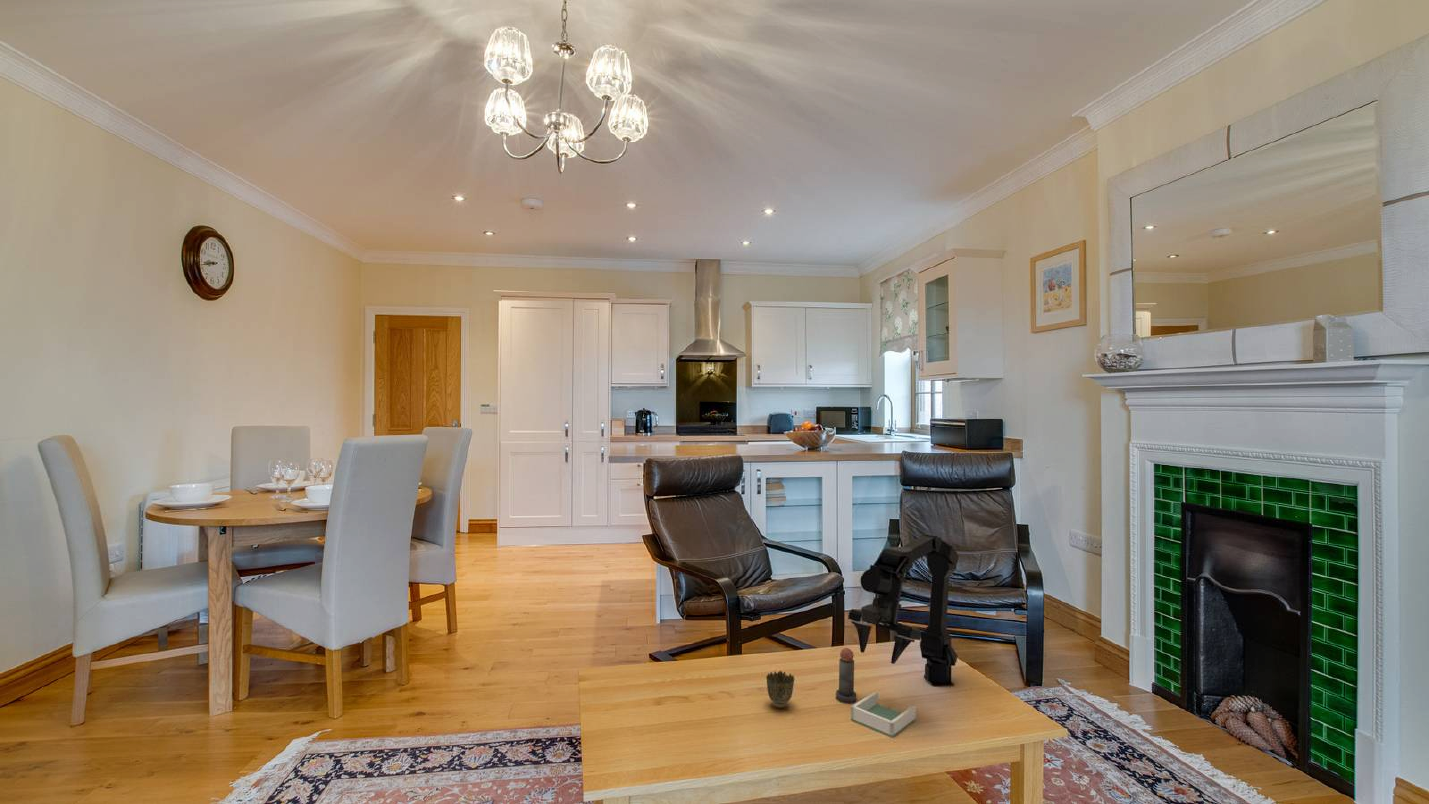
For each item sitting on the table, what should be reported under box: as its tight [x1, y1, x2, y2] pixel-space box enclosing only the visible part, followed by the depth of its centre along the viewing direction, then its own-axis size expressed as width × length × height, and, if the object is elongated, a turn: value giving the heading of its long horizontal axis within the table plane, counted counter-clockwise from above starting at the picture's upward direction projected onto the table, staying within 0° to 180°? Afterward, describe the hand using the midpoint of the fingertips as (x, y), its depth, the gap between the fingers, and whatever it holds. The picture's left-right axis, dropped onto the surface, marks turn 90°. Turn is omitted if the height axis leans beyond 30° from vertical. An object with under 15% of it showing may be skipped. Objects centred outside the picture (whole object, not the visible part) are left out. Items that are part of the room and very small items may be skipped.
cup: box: [765, 670, 795, 710], centre depth 167 cm, size 8×7×8 cm
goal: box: [850, 691, 917, 738], centre depth 160 cm, size 12×12×4 cm
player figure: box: [835, 647, 857, 705], centre depth 172 cm, size 6×6×14 cm
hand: (877, 657), depth 162 cm, fingers open, 9 cm apart
